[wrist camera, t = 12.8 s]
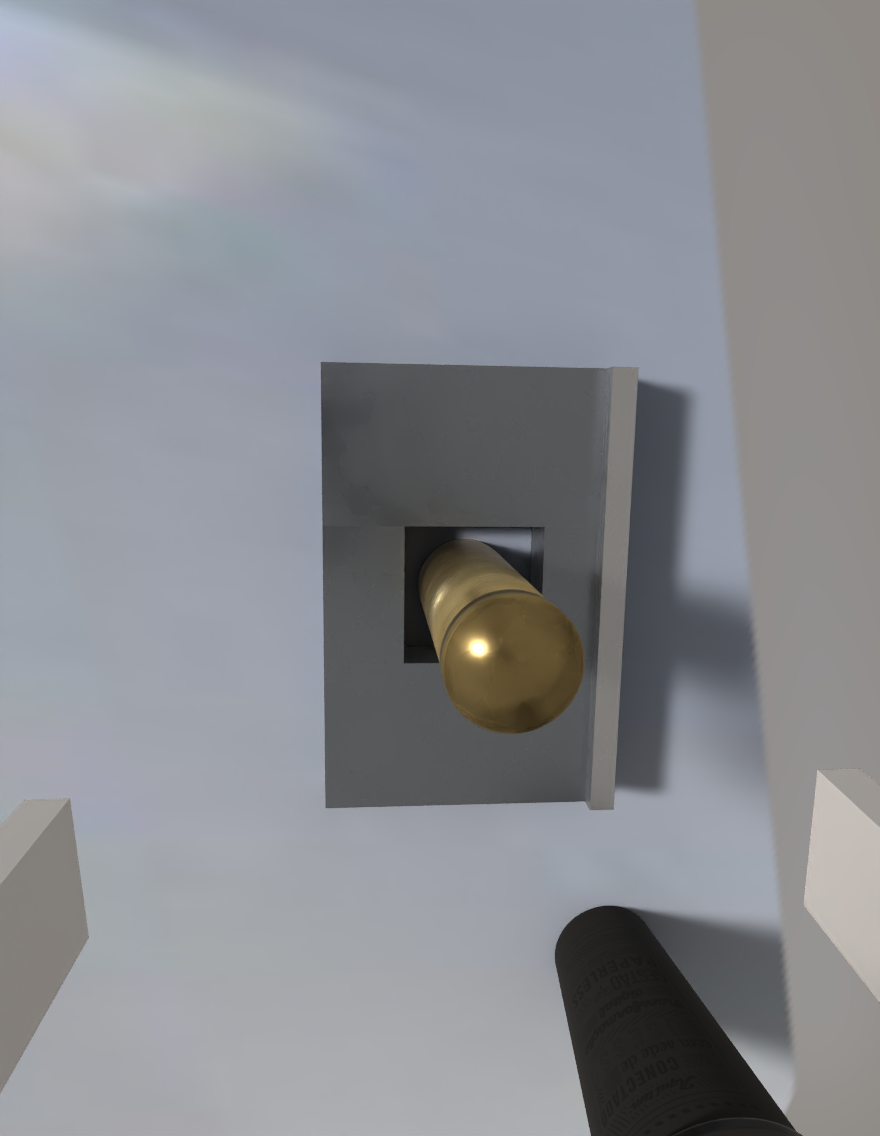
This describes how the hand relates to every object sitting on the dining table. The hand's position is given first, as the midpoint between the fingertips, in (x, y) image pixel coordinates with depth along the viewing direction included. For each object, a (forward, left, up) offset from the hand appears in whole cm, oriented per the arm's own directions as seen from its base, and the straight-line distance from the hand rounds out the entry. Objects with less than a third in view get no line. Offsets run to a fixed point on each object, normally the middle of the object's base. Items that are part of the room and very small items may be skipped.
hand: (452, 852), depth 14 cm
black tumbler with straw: (+17, +10, -21) cm, 29 cm away
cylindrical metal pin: (-1, +3, -21) cm, 21 cm away
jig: (-1, +3, -21) cm, 21 cm away
